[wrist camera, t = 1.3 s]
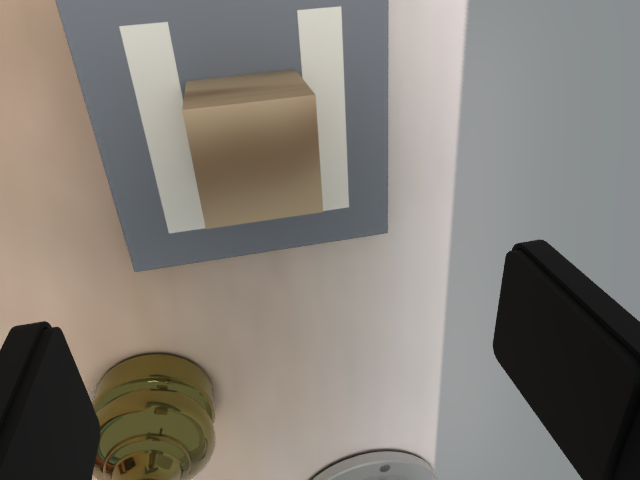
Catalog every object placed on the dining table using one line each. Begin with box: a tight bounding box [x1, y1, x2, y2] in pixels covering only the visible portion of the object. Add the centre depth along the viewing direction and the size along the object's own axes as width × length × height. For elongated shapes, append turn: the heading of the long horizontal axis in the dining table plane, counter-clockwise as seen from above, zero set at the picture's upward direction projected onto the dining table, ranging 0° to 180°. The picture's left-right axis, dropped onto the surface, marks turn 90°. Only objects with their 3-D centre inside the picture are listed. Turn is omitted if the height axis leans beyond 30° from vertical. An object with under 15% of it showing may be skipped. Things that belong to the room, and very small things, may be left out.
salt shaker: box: [92, 354, 215, 480], centre depth 29 cm, size 7×7×10 cm
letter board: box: [56, 0, 388, 272], centre depth 25 cm, size 14×14×1 cm
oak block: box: [182, 70, 323, 229], centre depth 23 cm, size 5×5×5 cm
